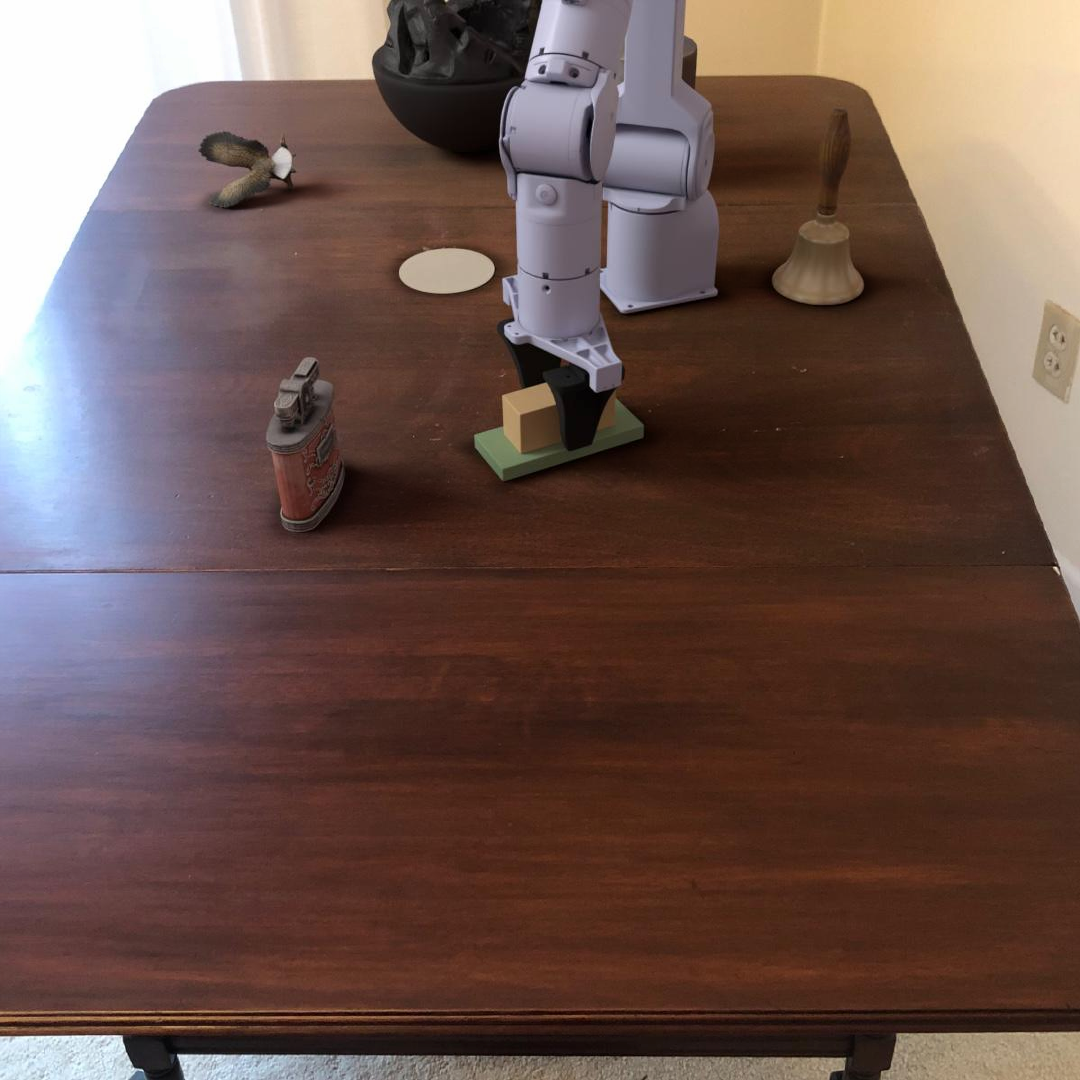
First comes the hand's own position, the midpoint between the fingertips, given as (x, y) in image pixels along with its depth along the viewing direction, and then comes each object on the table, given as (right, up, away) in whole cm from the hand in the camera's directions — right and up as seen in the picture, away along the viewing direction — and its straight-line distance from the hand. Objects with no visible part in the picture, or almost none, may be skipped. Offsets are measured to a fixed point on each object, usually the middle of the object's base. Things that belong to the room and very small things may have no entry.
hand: (559, 425), depth 92 cm
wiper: (0, -1, +1) cm, 2 cm away
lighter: (-18, -6, -4) cm, 19 cm away
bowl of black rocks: (-10, +36, +46) cm, 59 cm away
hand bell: (+24, +15, +20) cm, 34 cm away
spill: (-10, +17, +23) cm, 30 cm away
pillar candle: (+10, +30, +39) cm, 50 cm away
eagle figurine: (-32, +28, +37) cm, 56 cm away
